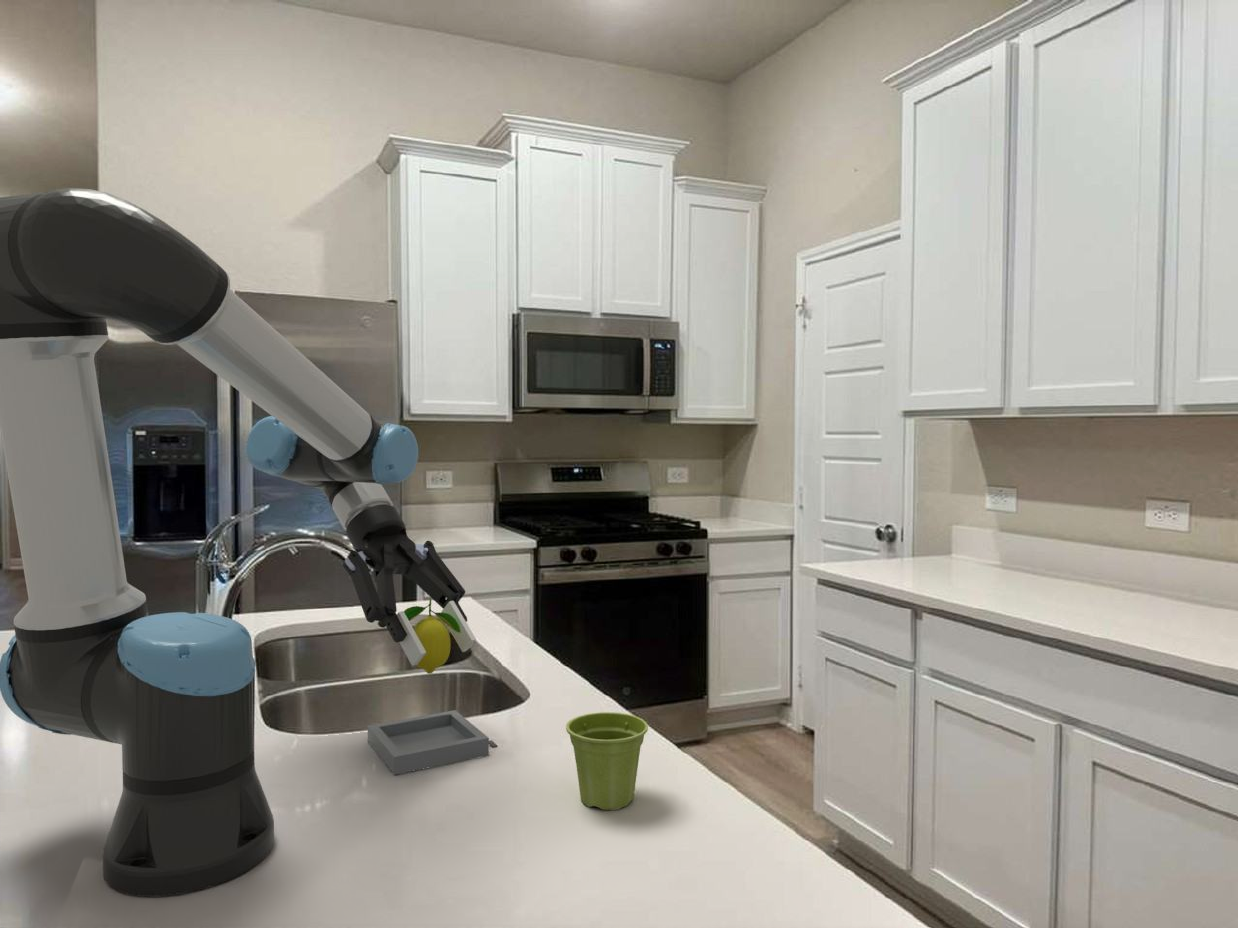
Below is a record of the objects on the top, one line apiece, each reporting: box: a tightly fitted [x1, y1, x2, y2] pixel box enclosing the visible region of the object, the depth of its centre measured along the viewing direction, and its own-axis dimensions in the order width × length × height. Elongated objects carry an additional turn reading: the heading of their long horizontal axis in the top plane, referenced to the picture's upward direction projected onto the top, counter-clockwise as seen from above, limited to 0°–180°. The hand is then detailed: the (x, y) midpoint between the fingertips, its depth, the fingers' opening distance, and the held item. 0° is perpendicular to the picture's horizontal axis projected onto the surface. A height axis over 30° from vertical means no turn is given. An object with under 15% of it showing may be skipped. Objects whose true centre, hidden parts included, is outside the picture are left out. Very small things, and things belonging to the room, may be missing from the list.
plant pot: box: [565, 711, 649, 811], centre depth 96 cm, size 9×9×9 cm
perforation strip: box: [482, 732, 498, 748], centre depth 116 cm, size 9×1×1 cm, turn 31°
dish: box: [367, 709, 490, 776], centre depth 111 cm, size 12×12×2 cm
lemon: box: [403, 598, 460, 674], centre depth 111 cm, size 7×6×10 cm
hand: (444, 652), depth 109 cm, fingers closed on lemon, 8 cm apart
